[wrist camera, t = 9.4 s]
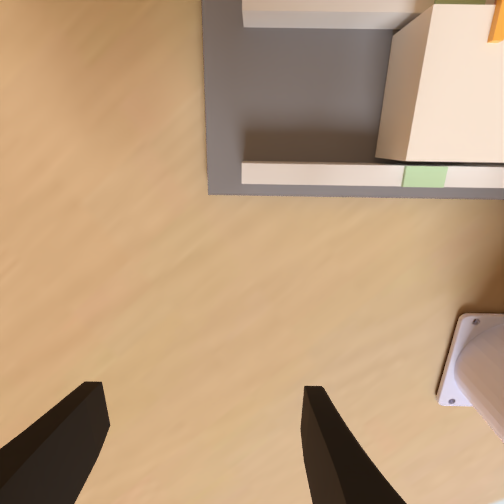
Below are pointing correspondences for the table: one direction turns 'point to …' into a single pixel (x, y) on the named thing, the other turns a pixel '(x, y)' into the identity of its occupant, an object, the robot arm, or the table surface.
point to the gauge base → (315, 102)
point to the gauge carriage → (446, 87)
